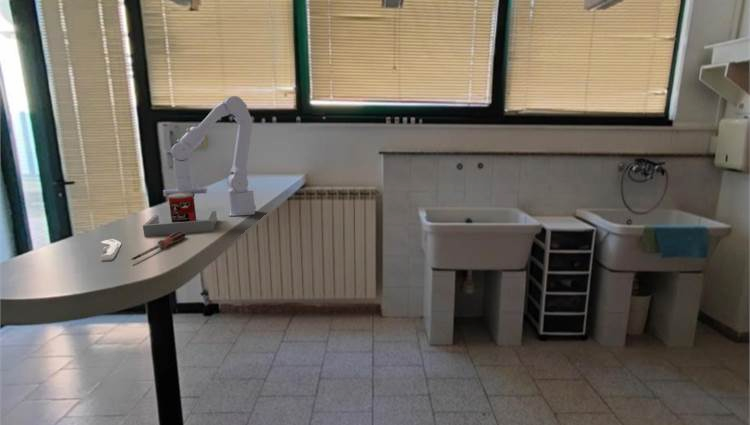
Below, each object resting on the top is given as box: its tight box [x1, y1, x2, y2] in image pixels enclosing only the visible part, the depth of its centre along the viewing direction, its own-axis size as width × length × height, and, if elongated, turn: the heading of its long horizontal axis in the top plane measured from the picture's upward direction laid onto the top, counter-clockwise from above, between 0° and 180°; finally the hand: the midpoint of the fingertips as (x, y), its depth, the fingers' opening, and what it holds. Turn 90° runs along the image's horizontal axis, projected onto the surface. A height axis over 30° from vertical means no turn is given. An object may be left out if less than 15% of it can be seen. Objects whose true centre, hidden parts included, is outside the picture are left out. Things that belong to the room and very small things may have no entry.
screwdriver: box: [130, 231, 187, 261], centre depth 116 cm, size 25×3×3 cm, turn 175°
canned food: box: [168, 192, 197, 223], centre depth 142 cm, size 8×8×11 cm
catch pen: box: [142, 210, 218, 237], centre depth 139 cm, size 20×15×4 cm
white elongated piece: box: [100, 238, 122, 261], centre depth 119 cm, size 30×2×8 cm
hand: (188, 213), depth 150 cm, fingers closed
